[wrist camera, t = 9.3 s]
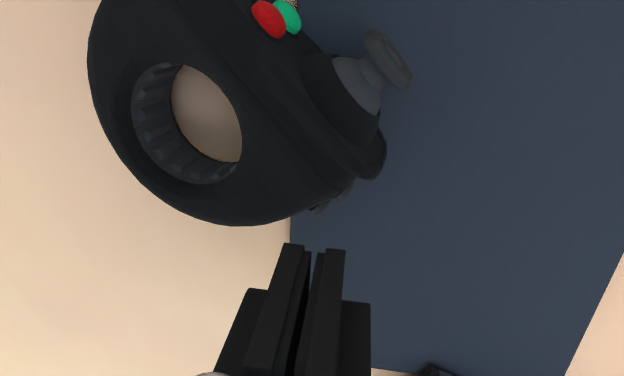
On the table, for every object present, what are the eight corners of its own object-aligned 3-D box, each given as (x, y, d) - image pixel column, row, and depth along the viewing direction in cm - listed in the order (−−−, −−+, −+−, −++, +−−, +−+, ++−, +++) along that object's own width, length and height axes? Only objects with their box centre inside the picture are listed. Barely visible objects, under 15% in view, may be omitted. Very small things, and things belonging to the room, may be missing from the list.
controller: (216, 295, 15) (450, 152, 10) (-36, 27, 13) (109, -307, 8) (260, 235, 19) (447, 110, 14) (70, 20, 17) (213, -212, 12)
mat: (303, -120, 13) (300, -125, 12) (779, -106, 11) (799, -111, 11) (288, 347, 22) (286, 356, 21) (551, 384, 21) (556, 394, 20)
